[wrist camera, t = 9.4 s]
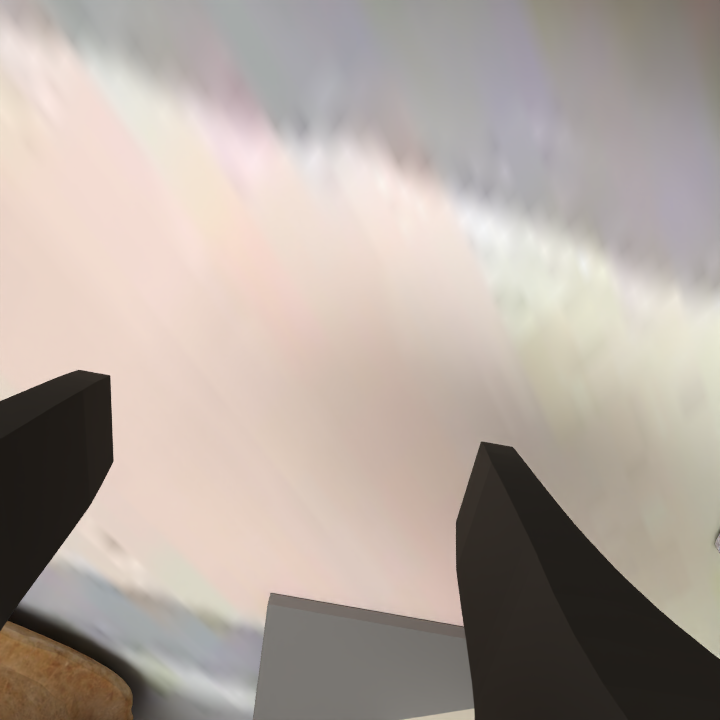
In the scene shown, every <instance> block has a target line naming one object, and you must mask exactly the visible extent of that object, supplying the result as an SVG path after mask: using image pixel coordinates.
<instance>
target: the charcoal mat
mask: <svg viewBox="0 0 720 720" xmlns="http://www.w3.org/2000/svg"><path fill="white" fill-rule="evenodd" d="M467 709H474V700H473V690H472V680H471V673H470V666H469V659H468V651H467V644H466V637H465V630H464V627H460V626H454V625H449V624H443V623H437V622H432V621H426V620H420V619H415V618H409V617H403V616H398V615H392V614H386V613H381V612H375V611H369V610H363V609H358V608H352V607H346V606H341V605H335V604H329V603H324V602H318V601H312V600H307V599H301V598H295V597H289V596H284V595H278V594H272V593H271V594H270V597H269V601H268V606H267V614H266V622H265V630H264V637H263V645H262V653H261V661H260V669H259V676H258V684H257V692H256V700H255V707H254V715H253V720H404V719H410V718H416V717H423V716H429V715H435V714H442V713H448V712H454V711H461V710H467Z"/></svg>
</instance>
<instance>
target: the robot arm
mask: <svg viewBox="0 0 720 720" xmlns="http://www.w3.org/2000/svg"><path fill="white" fill-rule="evenodd" d="M112 463H113V437H112V410H111V384H110V375H104V374H99V373H93V372H88V371H82V370H77V371H74V372H71V373H68V374H65V375H63V376H60V377H57V378H55V379H52V380H50V381H47V382H45V383H43V384H40V385H38V386H35V387H33V388H31V389H28V390H26V391H24V392H21V393H19V394H16V395H14V396H12V397H9V398H7V399H4V400H2V401H0V631H1V630H2V628H3V626H4V625H5V623H6V622H7V620H8V619H9V617H10V616H11V614H12V613H13V611H14V610H15V608H16V607H17V606H18V604H19V603H20V601H21V600H22V598H23V597H24V596H25V594H26V593H27V592H28V590H29V589H30V588H31V586H32V585H33V583H34V582H35V581H36V579H37V578H38V577H39V575H40V574H41V573H42V571H43V570H44V568H45V567H46V566H47V564H48V563H49V562H50V560H51V559H52V558H53V556H54V555H55V553H56V552H57V551H58V549H59V548H60V547H61V545H62V544H63V543H64V541H65V540H66V538H67V537H68V536H69V534H70V533H71V531H72V530H73V529H74V527H75V526H76V525H77V523H78V522H79V520H80V519H81V518H82V516H83V515H84V513H85V512H86V510H87V509H88V508H89V506H90V505H91V503H92V501H93V499H94V497H95V496H96V494H97V492H98V490H99V488H100V487H101V485H102V483H103V481H104V479H105V477H106V475H107V473H108V471H109V469H110V467H111V465H112ZM715 546H716V548H717V550H718V551H719V553H720V534H719V536H718V538H717V539H716V542H715ZM456 570H457V578H458V586H459V594H460V601H461V609H462V616H463V623H464V630H465V637H466V644H467V651H468V659H469V666H470V673H471V680H472V690H473V700H474V712H475V720H720V659H719V658H717V657H716V656H715V655H713V654H712V653H711V652H710V651H708V650H707V649H706V648H705V647H703V646H702V645H701V644H700V643H699V642H697V641H696V640H695V639H694V638H692V637H691V636H690V635H689V634H687V633H686V632H685V631H684V630H682V629H681V628H680V627H679V626H678V625H676V624H675V623H674V622H673V621H672V620H671V619H669V618H668V617H667V616H666V615H665V614H664V613H662V612H661V611H660V610H659V609H658V608H657V607H656V606H655V605H653V604H652V603H651V602H650V601H649V600H648V599H647V598H646V597H645V596H644V595H643V594H642V593H641V592H639V591H638V590H637V589H636V588H635V587H634V586H633V585H632V584H631V583H630V582H629V581H628V580H627V579H626V578H625V577H624V576H623V575H622V574H621V573H620V572H619V571H618V570H617V569H616V568H615V567H614V566H613V565H612V564H611V563H610V562H609V561H608V560H607V559H606V558H605V557H604V556H603V555H602V554H601V553H600V552H599V551H598V549H597V548H596V547H595V546H594V545H593V544H592V543H591V542H590V541H589V540H588V539H587V538H586V536H585V535H584V534H583V533H582V532H581V531H580V530H579V528H578V527H577V526H576V525H575V524H574V523H573V522H572V520H571V519H570V518H569V517H568V516H567V514H566V513H565V512H564V511H563V510H562V508H561V507H560V506H559V505H558V504H557V502H556V501H555V500H554V499H553V497H552V496H551V495H550V494H549V492H548V491H547V490H546V489H545V487H544V486H543V485H542V483H541V482H540V481H539V480H538V478H537V477H536V476H535V475H534V473H533V472H532V471H531V469H530V468H529V467H528V466H527V464H526V463H525V462H524V460H523V459H522V458H521V457H520V455H519V454H518V453H517V452H516V451H515V449H514V448H513V447H509V446H504V445H498V444H493V443H487V442H481V444H480V447H479V450H478V453H477V456H476V460H475V463H474V466H473V469H472V473H471V476H470V479H469V482H468V485H467V489H466V492H465V495H464V498H463V502H462V505H461V508H460V511H459V514H458V518H457V521H456Z"/></svg>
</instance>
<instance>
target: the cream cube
mask: <svg viewBox="0 0 720 720" xmlns="http://www.w3.org/2000/svg"><path fill="white" fill-rule="evenodd" d="M404 720H475V712H474V709H467V710H461V711H454V712H448V713H442V714H435V715H429V716H423V717H416V718H410V719H404Z"/></svg>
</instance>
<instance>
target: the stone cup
mask: <svg viewBox="0 0 720 720" xmlns="http://www.w3.org/2000/svg"><path fill="white" fill-rule="evenodd" d="M132 705H133V695H132V692H131V689H130V687H129V686H128V685H127V684H126V683H125V681H124V680H123V679H122V678H121V677H119V676H118V675H117V674H116V673H115V672H113V671H112V670H110V669H109V668H107V667H105V666H104V665H102V664H101V663H99V662H97V661H95V660H94V659H92V658H90V657H88V656H86V655H84V654H82V653H80V652H78V651H76V650H74V649H72V648H70V647H68V646H66V645H64V644H61V643H59V642H57V641H55V640H52V639H50V638H48V637H45V636H43V635H41V634H38V633H36V632H34V631H31V630H29V629H27V628H24V627H22V626H20V625H17V624H15V623H12V622H10V621H7V622H6V623H5V625H4V626H3V628H2V630H1V631H0V720H133V714H132V711H131V708H132Z"/></svg>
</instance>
